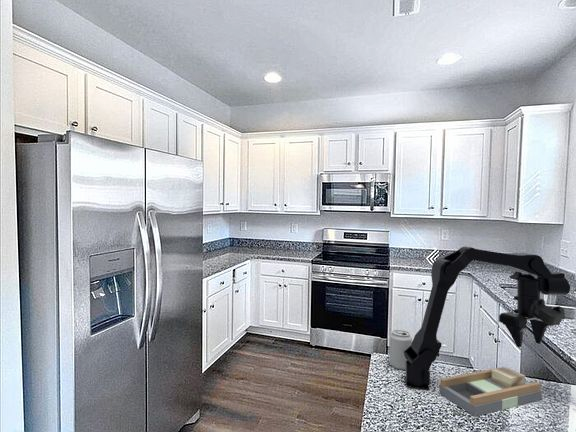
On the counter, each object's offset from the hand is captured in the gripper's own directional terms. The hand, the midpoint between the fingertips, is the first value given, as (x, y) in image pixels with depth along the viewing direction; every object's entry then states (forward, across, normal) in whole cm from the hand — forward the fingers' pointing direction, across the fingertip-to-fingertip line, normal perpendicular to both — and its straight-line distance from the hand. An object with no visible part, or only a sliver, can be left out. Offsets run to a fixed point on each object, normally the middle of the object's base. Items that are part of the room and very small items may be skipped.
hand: (528, 345), depth 101 cm
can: (+13, -27, +26) cm, 40 cm away
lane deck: (+13, -16, +1) cm, 21 cm away
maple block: (+11, -8, +1) cm, 14 cm away
